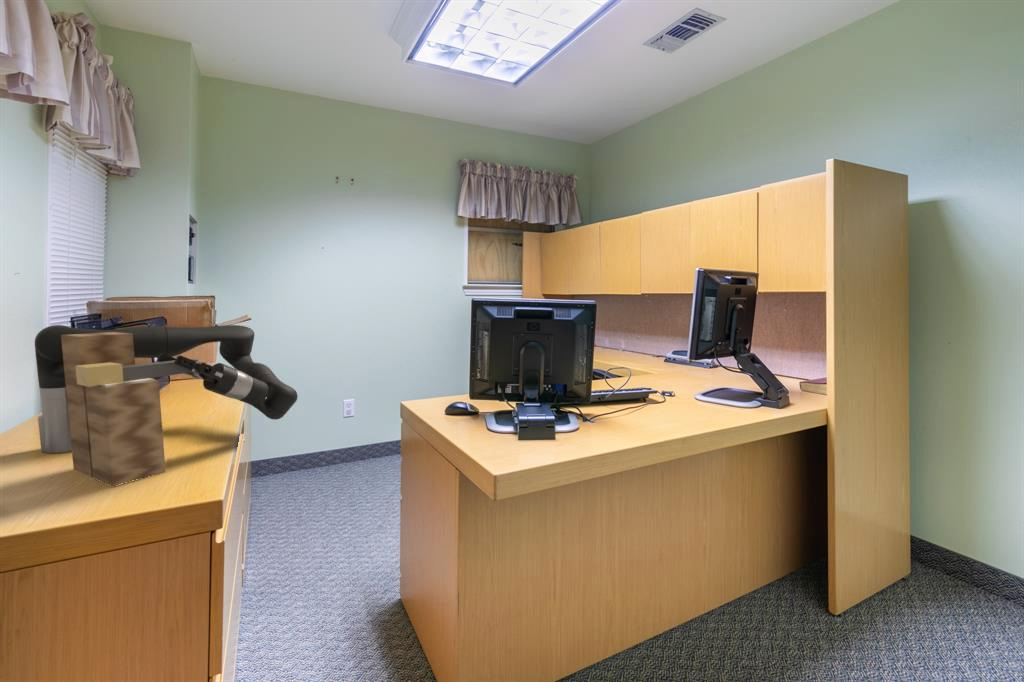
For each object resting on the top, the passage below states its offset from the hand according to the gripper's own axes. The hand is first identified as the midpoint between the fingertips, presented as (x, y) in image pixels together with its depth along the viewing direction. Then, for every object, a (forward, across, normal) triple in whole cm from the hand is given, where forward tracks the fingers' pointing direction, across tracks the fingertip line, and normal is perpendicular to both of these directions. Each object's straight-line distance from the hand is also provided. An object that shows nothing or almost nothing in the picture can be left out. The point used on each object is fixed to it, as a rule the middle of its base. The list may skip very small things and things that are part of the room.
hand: (167, 358), depth 115 cm
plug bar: (+2, 0, +6) cm, 6 cm away
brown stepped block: (-5, -6, +27) cm, 28 cm away
